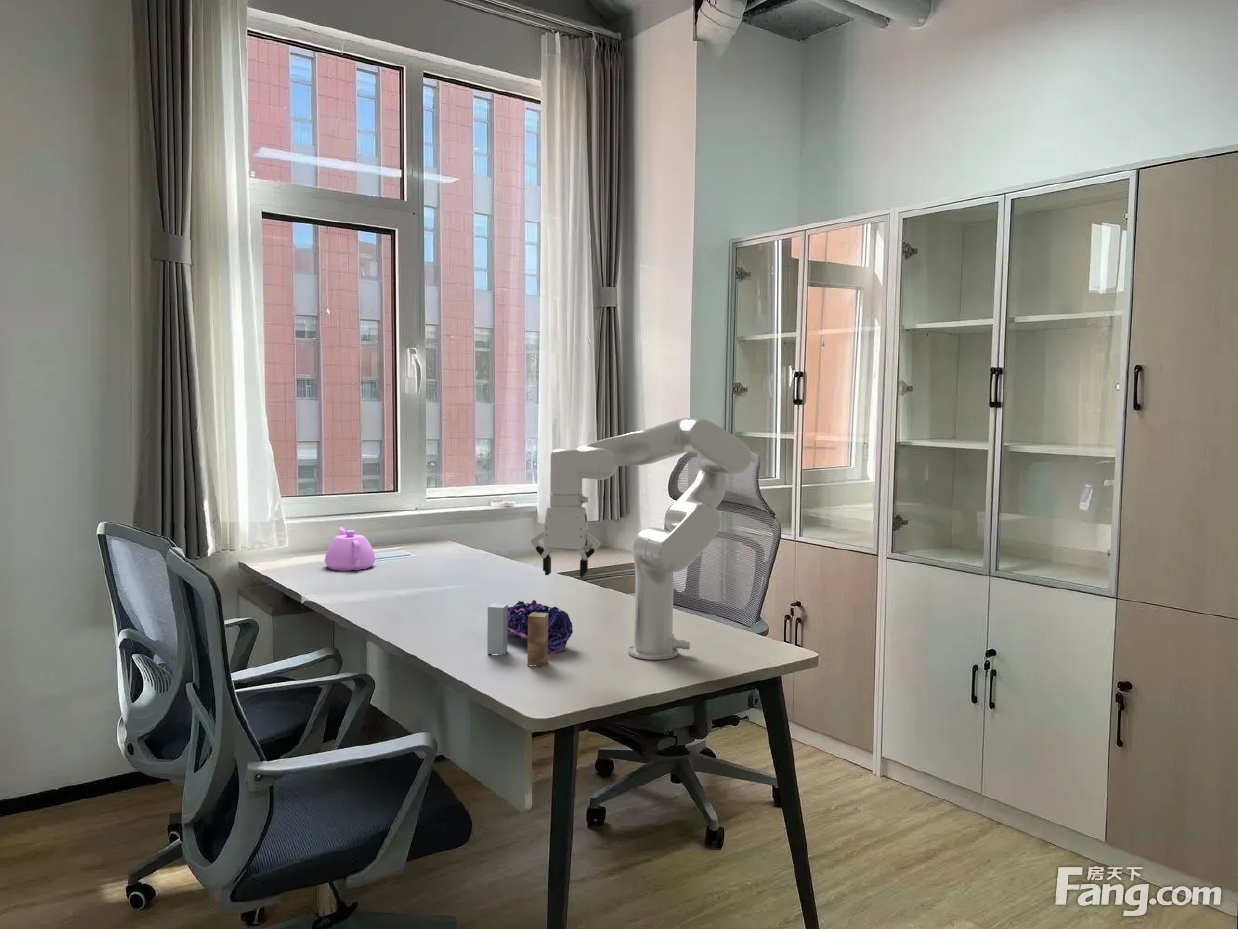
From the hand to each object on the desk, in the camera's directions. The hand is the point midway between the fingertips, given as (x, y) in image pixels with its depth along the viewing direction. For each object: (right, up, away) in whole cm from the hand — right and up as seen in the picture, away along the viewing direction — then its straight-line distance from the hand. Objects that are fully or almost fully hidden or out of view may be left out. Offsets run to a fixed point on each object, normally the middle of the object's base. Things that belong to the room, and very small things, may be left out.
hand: (565, 574), depth 217 cm
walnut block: (-7, -22, +2) cm, 23 cm away
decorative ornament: (-11, -20, +24) cm, 34 cm away
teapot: (-87, -12, +122) cm, 150 cm away
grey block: (-17, -21, +11) cm, 29 cm away
